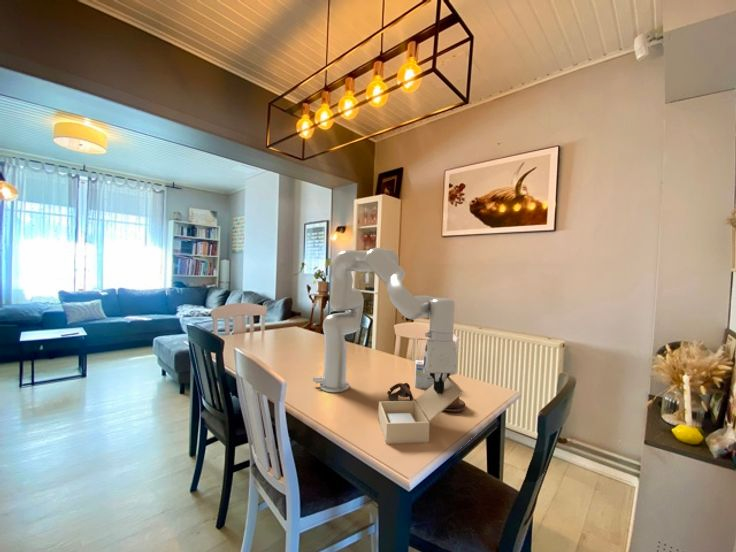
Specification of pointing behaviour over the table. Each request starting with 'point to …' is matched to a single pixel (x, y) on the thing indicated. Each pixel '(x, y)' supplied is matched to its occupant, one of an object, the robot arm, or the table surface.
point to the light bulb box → (422, 376)
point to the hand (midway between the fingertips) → (438, 392)
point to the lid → (438, 398)
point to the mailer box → (403, 422)
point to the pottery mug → (400, 392)
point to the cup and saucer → (455, 405)
